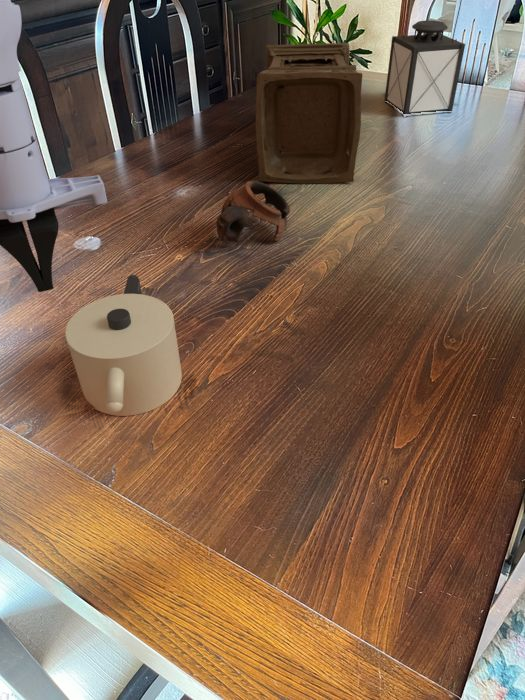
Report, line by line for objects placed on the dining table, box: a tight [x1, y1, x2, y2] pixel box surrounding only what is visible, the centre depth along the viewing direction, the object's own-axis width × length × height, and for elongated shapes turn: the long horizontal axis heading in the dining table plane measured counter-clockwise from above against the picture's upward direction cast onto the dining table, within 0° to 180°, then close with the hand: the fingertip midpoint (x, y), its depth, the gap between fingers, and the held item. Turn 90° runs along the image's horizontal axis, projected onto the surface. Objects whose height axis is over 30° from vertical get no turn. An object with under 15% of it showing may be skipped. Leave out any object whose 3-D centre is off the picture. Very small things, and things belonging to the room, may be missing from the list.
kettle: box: [64, 274, 183, 417], centre depth 52 cm, size 17×10×8 cm, turn 3°
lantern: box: [384, 0, 466, 114], centre depth 114 cm, size 11×11×28 cm
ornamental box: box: [255, 42, 363, 185], centre depth 100 cm, size 35×18×18 cm, turn 177°
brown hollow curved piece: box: [215, 180, 291, 243], centre depth 77 cm, size 12×10×8 cm
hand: (44, 285), depth 53 cm, fingers closed
